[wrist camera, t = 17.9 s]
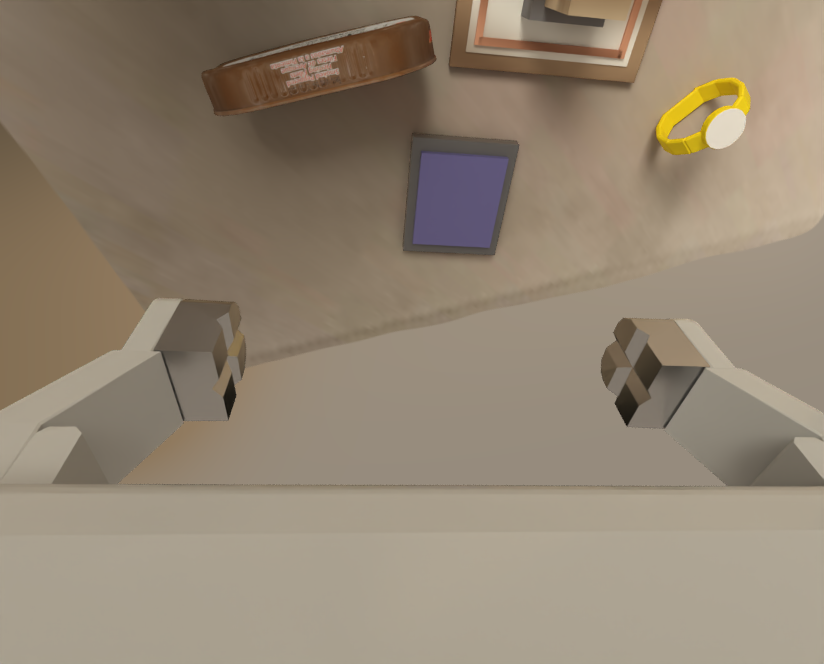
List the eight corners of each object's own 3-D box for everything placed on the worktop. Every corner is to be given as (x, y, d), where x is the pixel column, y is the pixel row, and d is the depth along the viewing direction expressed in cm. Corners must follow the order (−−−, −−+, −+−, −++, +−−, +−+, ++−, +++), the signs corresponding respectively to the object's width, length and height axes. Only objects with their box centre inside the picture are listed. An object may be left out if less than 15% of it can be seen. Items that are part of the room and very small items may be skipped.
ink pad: (412, 133, 38) (413, 139, 36) (516, 141, 38) (520, 147, 37) (402, 245, 44) (403, 253, 43) (492, 249, 45) (495, 257, 43)
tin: (234, 100, 35) (201, 135, 29) (214, 52, 33) (175, 79, 27) (431, 53, 34) (444, 79, 28) (423, 1, 32) (435, 15, 26)
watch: (708, 64, 36) (763, 76, 31) (722, 92, 37) (777, 108, 32) (639, 124, 38) (680, 145, 33) (654, 149, 39) (696, 172, 35)
